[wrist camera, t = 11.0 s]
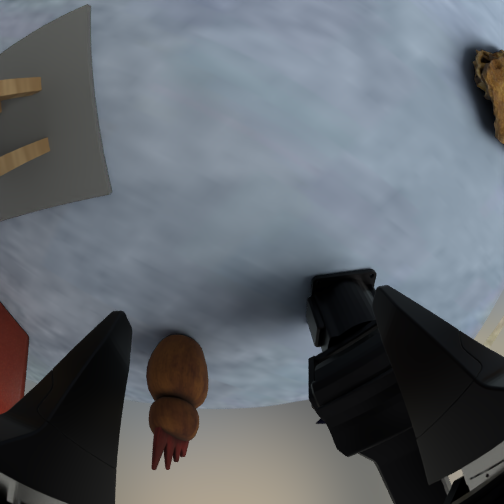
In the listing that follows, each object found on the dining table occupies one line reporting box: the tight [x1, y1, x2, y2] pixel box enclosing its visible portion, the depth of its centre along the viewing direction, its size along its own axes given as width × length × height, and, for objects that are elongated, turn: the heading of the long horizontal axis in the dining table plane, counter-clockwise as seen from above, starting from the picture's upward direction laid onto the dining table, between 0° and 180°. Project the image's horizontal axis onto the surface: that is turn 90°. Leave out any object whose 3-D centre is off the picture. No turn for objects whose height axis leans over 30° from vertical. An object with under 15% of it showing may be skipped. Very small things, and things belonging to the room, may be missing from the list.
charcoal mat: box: [0, 4, 112, 221], centre depth 15 cm, size 16×16×1 cm
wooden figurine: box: [146, 335, 208, 470], centre depth 23 cm, size 7×6×15 cm
